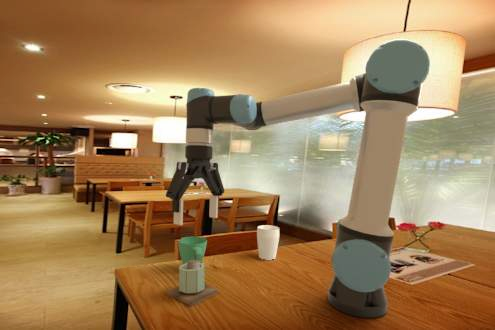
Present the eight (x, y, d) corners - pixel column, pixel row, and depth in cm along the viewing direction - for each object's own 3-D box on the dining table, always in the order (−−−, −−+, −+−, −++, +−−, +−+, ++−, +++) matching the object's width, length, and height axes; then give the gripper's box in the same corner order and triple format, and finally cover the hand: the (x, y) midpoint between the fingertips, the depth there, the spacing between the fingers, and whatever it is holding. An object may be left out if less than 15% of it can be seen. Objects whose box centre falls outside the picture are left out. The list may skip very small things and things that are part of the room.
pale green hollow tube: (209, 286, 83) (209, 265, 83) (191, 295, 77) (191, 272, 77) (192, 281, 87) (192, 261, 87) (174, 288, 81) (174, 267, 81)
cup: (278, 254, 120) (279, 225, 120) (278, 262, 111) (279, 230, 111) (256, 253, 121) (257, 224, 120) (255, 260, 112) (256, 229, 112)
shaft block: (217, 293, 83) (218, 261, 83) (191, 306, 75) (192, 271, 75) (193, 283, 89) (194, 254, 89) (166, 294, 81) (167, 262, 81)
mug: (174, 265, 103) (175, 237, 103) (201, 262, 107) (202, 235, 107) (183, 281, 90) (184, 249, 90) (213, 277, 94) (214, 246, 94)
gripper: (218, 147, 94) (216, 213, 94) (153, 141, 74) (150, 225, 74) (237, 147, 90) (234, 216, 90) (172, 141, 69) (170, 230, 70)
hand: (196, 220), depth 82 cm, fingers open, 13 cm apart
